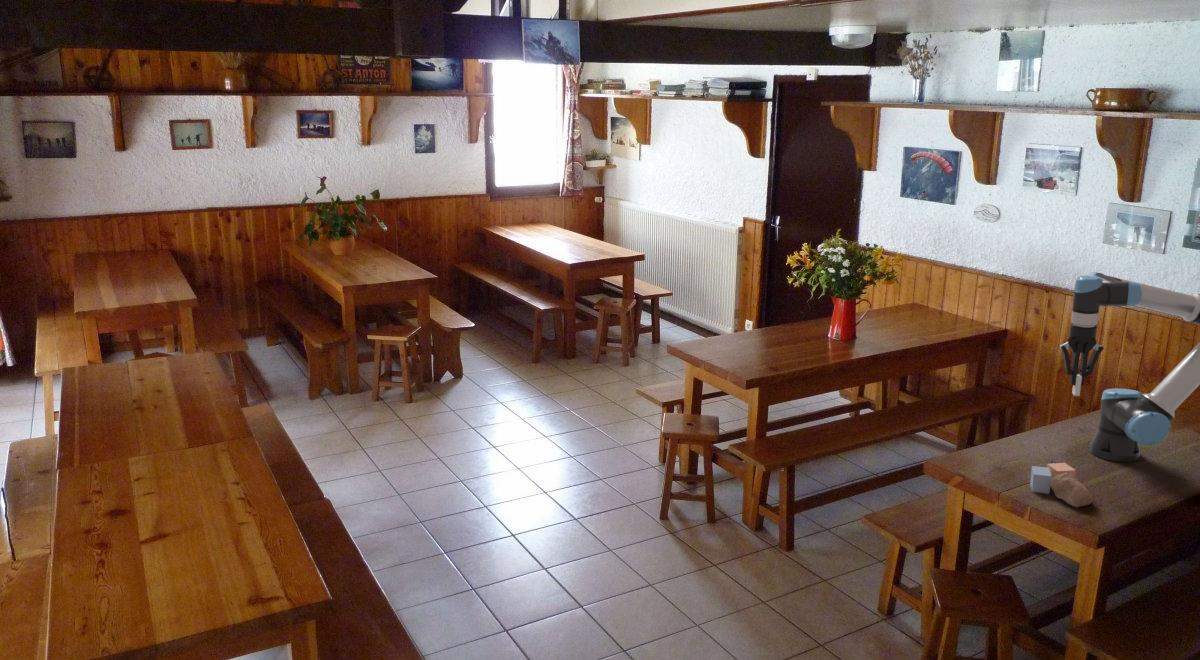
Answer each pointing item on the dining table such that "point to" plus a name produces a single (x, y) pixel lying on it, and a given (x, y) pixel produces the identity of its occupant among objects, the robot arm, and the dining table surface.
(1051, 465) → the terracotta block
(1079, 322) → the robot arm
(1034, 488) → the slate block
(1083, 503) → the stone
